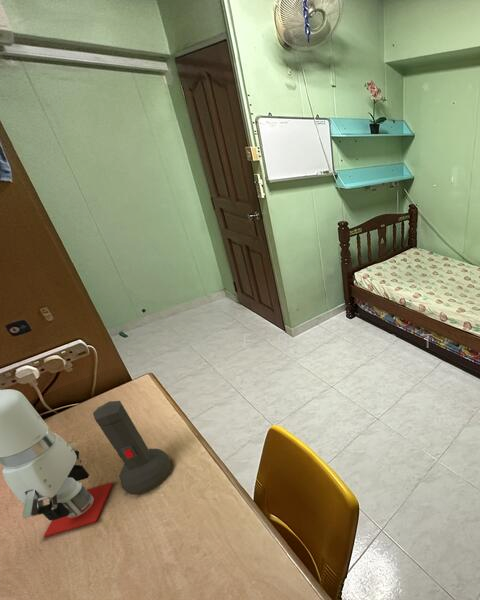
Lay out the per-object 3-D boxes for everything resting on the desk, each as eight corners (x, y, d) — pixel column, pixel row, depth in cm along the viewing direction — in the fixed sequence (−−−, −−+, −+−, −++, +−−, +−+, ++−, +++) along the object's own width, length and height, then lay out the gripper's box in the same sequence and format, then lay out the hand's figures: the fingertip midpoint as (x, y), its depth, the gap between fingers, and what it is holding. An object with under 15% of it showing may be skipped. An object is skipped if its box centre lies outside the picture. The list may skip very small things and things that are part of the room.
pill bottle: (93, 492, 74) (76, 470, 70) (95, 507, 71) (77, 486, 67) (65, 506, 71) (46, 485, 67) (66, 523, 68) (46, 502, 64)
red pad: (44, 537, 66) (43, 536, 66) (67, 496, 74) (66, 494, 73) (96, 522, 69) (95, 520, 69) (113, 483, 77) (112, 482, 76)
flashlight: (126, 469, 80) (121, 504, 72) (79, 399, 68) (68, 433, 60) (172, 451, 84) (172, 481, 77) (136, 382, 72) (132, 411, 65)
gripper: (30, 416, 67) (70, 467, 75) (-36, 496, 52) (23, 547, 61) (74, 407, 69) (108, 457, 77) (22, 481, 55) (71, 532, 63)
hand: (71, 496), depth 69 cm, fingers open, 8 cm apart
